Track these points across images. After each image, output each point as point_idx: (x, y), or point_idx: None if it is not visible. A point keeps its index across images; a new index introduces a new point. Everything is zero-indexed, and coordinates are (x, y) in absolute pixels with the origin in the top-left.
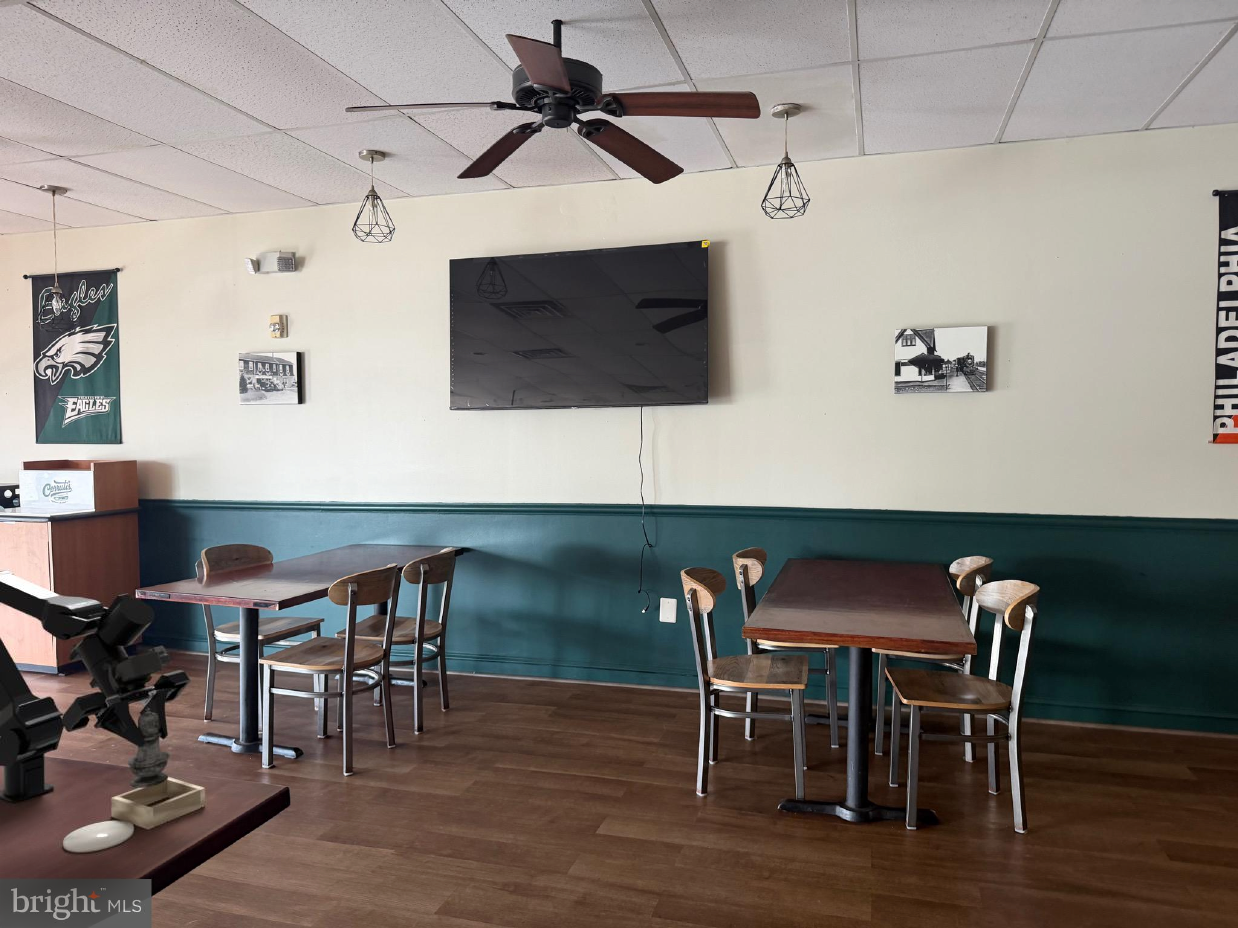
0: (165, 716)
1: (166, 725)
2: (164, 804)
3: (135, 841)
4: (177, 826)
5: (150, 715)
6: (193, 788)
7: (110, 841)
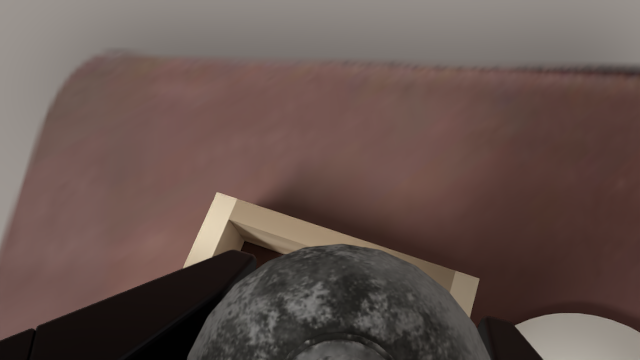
0: (55, 320)
1: (167, 274)
2: (400, 255)
3: (558, 269)
4: (412, 202)
5: (391, 303)
6: (219, 245)
7: (627, 340)
